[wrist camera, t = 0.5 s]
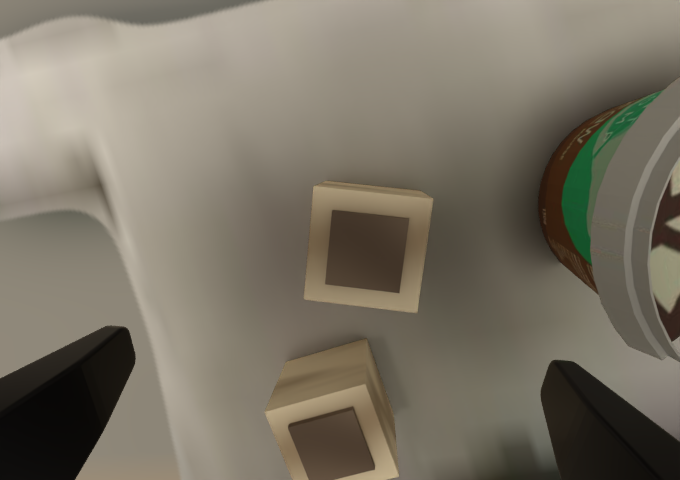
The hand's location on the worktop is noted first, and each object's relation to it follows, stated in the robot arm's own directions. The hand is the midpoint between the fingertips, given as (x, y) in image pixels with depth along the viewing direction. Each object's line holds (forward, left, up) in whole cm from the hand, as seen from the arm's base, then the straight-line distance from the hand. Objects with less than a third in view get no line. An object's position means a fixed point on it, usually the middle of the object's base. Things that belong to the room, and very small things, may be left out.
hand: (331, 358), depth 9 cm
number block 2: (-9, +2, -14) cm, 17 cm away
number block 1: (0, -1, -14) cm, 14 cm away
